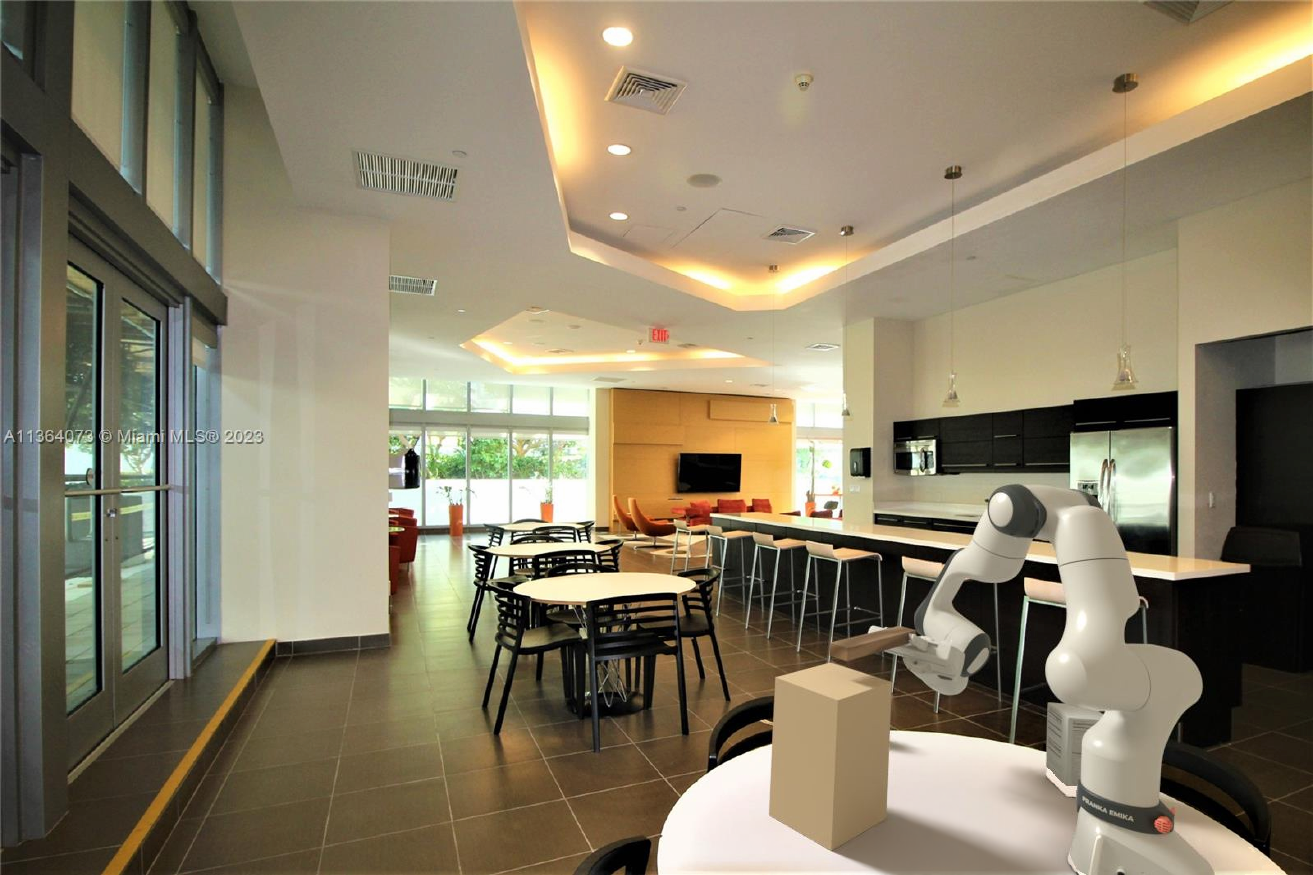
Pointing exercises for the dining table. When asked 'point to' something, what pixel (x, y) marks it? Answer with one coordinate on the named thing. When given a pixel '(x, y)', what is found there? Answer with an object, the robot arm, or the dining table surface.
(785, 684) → the carton
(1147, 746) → the robot arm
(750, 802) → the dining table surface
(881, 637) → the slat
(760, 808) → the dining table surface
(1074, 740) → the supplement box
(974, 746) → the dining table surface
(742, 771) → the dining table surface
